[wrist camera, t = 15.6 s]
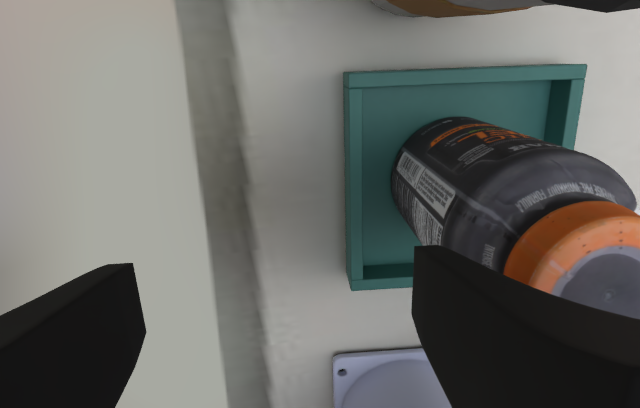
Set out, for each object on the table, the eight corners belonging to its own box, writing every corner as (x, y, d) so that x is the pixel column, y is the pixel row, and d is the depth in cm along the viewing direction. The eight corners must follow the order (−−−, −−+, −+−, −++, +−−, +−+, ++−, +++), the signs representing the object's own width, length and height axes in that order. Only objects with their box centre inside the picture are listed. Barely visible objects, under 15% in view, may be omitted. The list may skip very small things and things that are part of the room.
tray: (533, 261, 23) (553, 278, 21) (346, 273, 23) (351, 291, 21) (561, 63, 20) (587, 64, 18) (343, 72, 19) (348, 73, 18)
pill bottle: (521, 121, 20) (780, 190, 10) (492, 236, 22) (682, 403, 11) (398, 108, 20) (526, 167, 9) (379, 228, 22) (466, 395, 11)
